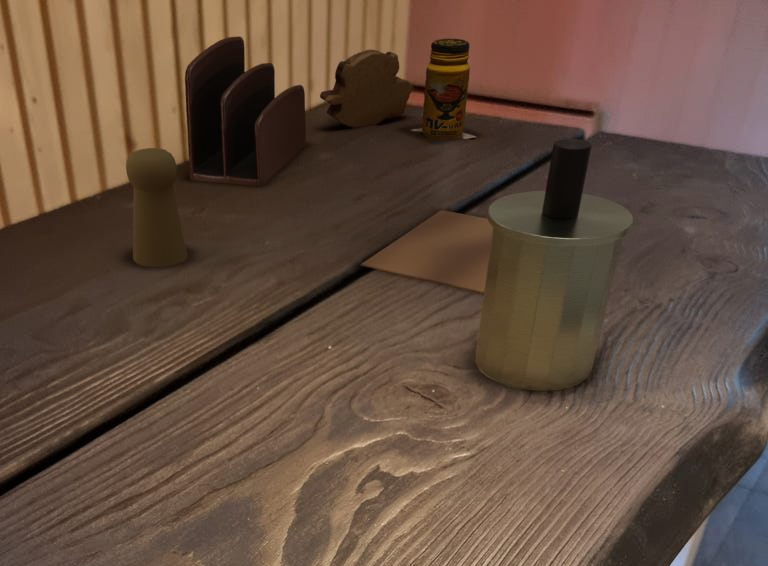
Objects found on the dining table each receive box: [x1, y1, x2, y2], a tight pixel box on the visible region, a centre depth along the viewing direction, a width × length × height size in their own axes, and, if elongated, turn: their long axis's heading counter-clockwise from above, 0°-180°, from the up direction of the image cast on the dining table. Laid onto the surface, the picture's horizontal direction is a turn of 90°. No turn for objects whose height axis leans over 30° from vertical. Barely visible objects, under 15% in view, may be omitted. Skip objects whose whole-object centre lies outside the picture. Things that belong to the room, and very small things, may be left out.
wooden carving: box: [319, 49, 414, 129], centre depth 137 cm, size 16×5×10 cm, turn 130°
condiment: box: [411, 37, 477, 140], centre depth 132 cm, size 7×8×12 cm
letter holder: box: [184, 36, 307, 187], centre depth 122 cm, size 10×20×14 cm, turn 162°
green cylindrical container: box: [474, 227, 623, 392], centre depth 78 cm, size 10×10×12 cm
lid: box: [486, 138, 634, 247], centre depth 72 cm, size 11×11×6 cm
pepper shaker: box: [125, 147, 188, 268], centre depth 97 cm, size 6×6×11 cm
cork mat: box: [360, 209, 493, 294], centre depth 101 cm, size 20×20×1 cm
